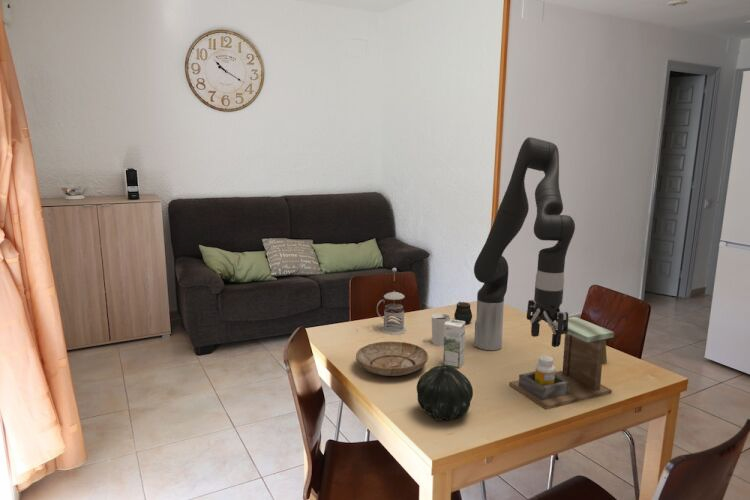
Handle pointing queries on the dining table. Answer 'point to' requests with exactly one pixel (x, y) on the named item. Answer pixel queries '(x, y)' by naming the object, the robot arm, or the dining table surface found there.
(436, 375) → the squash
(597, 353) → the awning stand
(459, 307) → the mate gourd
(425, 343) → the dining table surface
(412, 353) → the ceramic bowl
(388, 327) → the french press
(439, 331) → the white mug
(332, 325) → the dining table surface
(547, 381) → the supplement bottle
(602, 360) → the cork
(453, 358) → the syrup box
